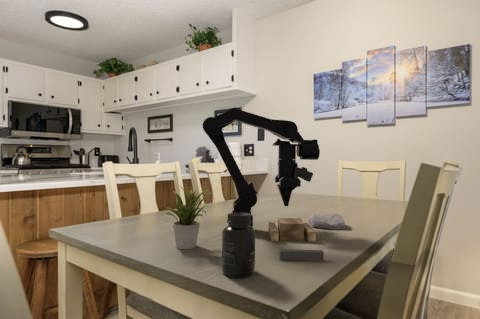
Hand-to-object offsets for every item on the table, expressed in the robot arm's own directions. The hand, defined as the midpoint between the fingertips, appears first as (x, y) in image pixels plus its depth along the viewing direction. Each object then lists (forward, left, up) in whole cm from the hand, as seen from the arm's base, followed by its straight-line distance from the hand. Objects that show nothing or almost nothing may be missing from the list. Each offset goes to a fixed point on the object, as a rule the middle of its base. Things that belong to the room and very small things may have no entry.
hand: (286, 206), depth 101 cm
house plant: (-28, -21, -8) cm, 36 cm away
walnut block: (0, -9, -8) cm, 12 cm away
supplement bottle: (-15, -39, -8) cm, 43 cm away
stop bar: (0, -30, -8) cm, 31 cm away
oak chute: (0, -9, -8) cm, 12 cm away
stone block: (+15, +6, -8) cm, 19 cm away
